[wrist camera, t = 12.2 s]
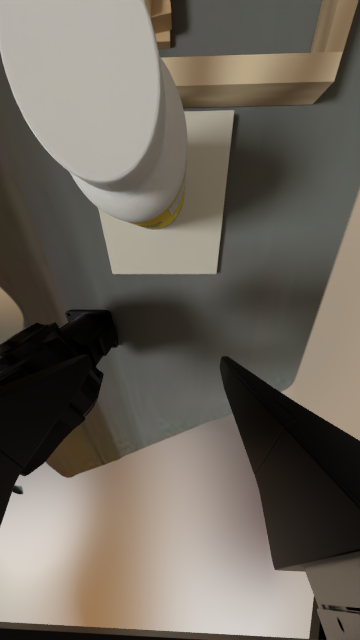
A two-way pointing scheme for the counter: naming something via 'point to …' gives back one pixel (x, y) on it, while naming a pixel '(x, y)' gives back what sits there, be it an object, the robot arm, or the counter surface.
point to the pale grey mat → (182, 210)
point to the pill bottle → (100, 101)
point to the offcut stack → (160, 21)
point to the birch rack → (267, 69)
